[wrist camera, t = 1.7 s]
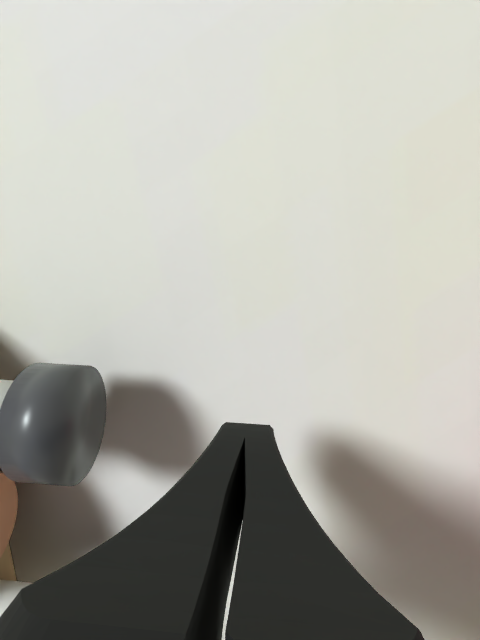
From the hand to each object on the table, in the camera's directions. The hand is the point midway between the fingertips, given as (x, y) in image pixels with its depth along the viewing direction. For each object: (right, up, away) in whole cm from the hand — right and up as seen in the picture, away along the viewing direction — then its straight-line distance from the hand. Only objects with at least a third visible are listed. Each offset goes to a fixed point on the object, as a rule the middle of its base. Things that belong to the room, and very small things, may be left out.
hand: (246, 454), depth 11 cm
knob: (-8, +1, +3) cm, 9 cm away
